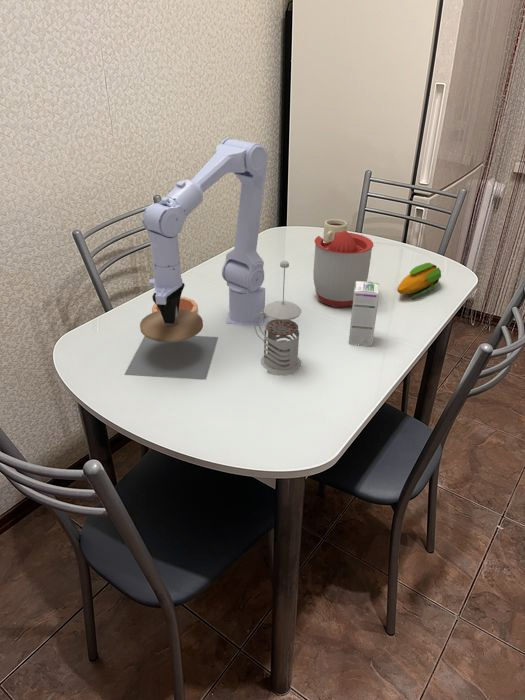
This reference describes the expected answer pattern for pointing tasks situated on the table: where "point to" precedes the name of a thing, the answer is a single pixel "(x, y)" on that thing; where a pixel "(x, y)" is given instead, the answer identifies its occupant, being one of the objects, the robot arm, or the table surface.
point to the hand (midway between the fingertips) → (171, 318)
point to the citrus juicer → (340, 267)
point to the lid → (171, 326)
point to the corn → (420, 279)
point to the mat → (174, 358)
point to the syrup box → (364, 313)
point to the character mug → (333, 228)
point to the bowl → (182, 305)
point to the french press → (281, 336)
